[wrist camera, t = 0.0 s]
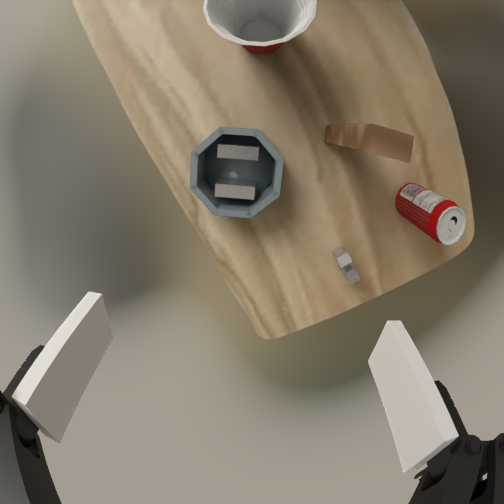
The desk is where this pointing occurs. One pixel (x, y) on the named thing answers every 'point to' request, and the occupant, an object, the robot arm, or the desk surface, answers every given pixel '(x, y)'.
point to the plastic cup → (259, 21)
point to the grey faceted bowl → (236, 172)
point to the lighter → (346, 265)
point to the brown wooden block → (371, 140)
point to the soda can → (431, 213)
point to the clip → (236, 186)
